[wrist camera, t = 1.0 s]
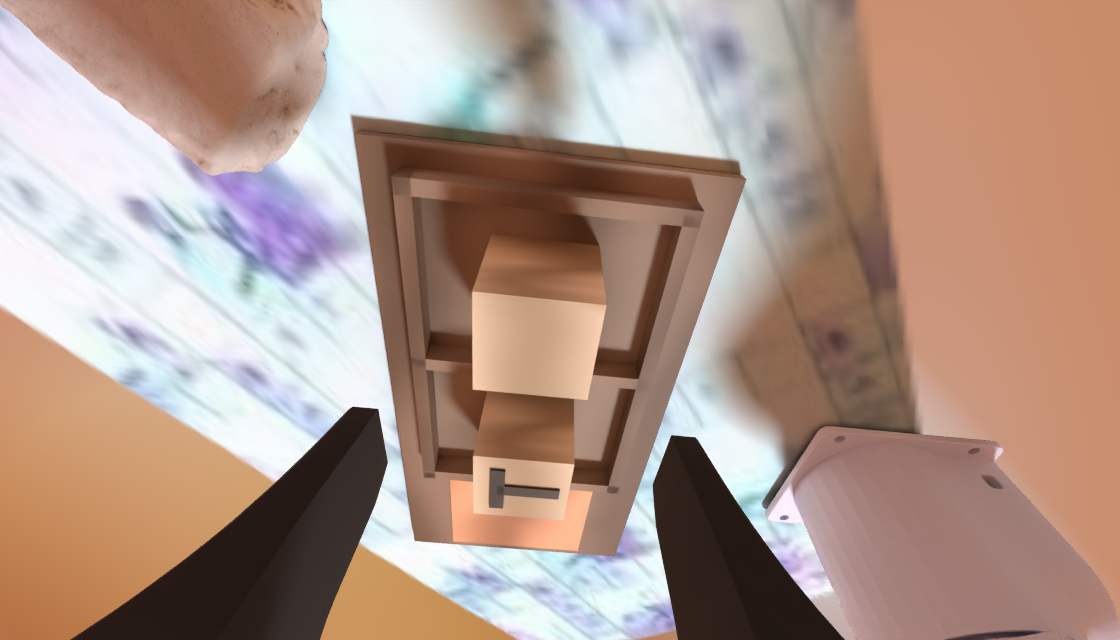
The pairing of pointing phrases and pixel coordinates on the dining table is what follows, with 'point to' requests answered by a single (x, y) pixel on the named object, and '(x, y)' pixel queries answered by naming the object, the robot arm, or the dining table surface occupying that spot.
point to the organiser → (446, 314)
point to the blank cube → (537, 317)
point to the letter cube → (524, 456)
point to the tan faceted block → (196, 68)
